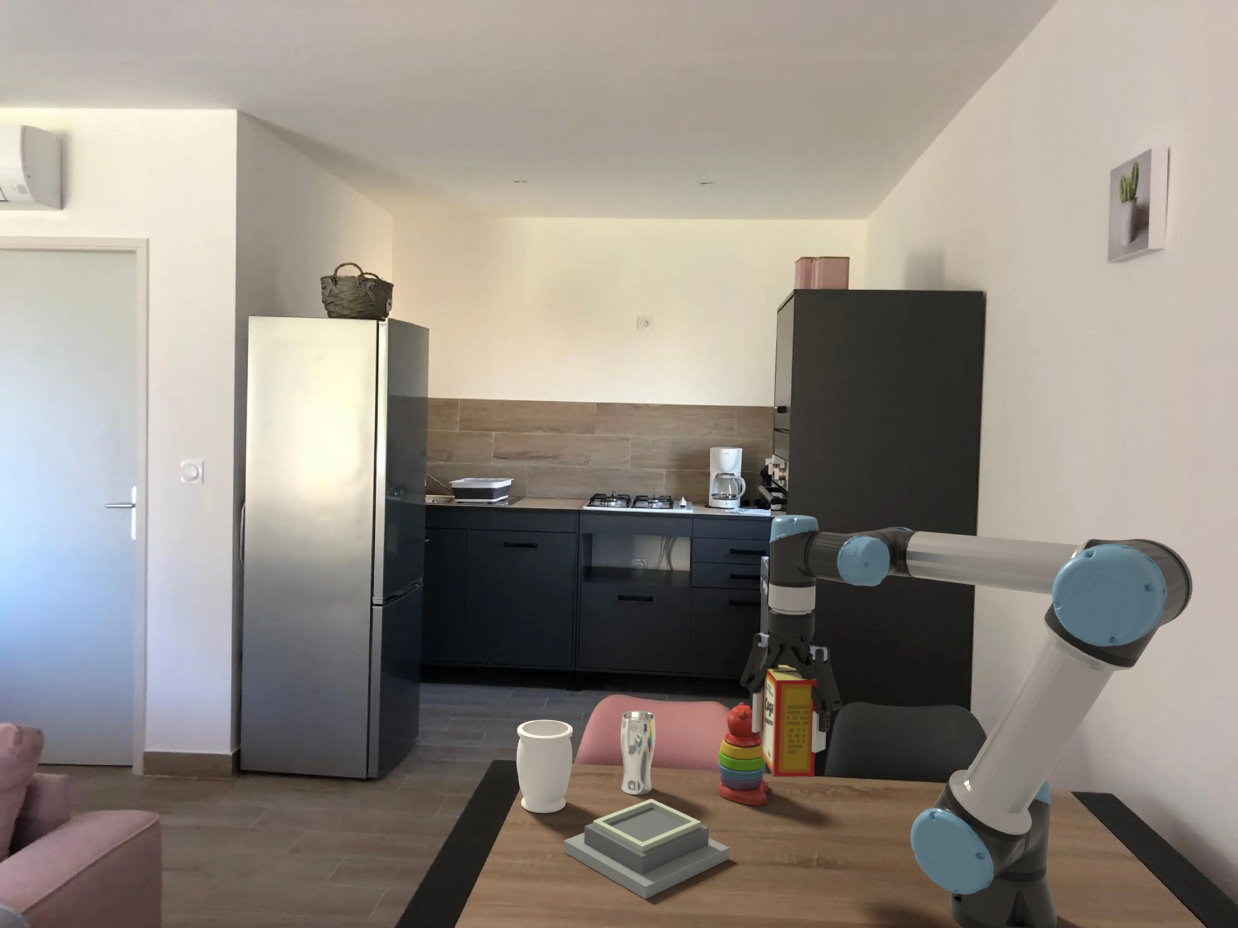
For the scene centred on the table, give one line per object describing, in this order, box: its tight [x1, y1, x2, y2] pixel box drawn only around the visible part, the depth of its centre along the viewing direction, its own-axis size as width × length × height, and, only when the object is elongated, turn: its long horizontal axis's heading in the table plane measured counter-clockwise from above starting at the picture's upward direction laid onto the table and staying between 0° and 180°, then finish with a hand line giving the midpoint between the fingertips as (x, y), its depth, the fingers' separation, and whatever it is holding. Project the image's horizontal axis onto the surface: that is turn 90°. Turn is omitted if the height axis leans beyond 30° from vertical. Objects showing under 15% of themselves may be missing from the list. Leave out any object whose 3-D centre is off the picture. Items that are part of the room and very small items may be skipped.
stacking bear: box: [717, 701, 769, 807], centre depth 184 cm, size 11×10×18 cm
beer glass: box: [620, 710, 656, 796], centre depth 184 cm, size 7×7×15 cm
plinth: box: [563, 798, 730, 900], centre depth 157 cm, size 20×20×6 cm
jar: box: [516, 719, 573, 814], centre depth 176 cm, size 11×10×15 cm
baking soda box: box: [761, 665, 817, 778], centre depth 152 cm, size 10×6×16 cm
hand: (787, 740), depth 152 cm, fingers closed on baking soda box, 11 cm apart
